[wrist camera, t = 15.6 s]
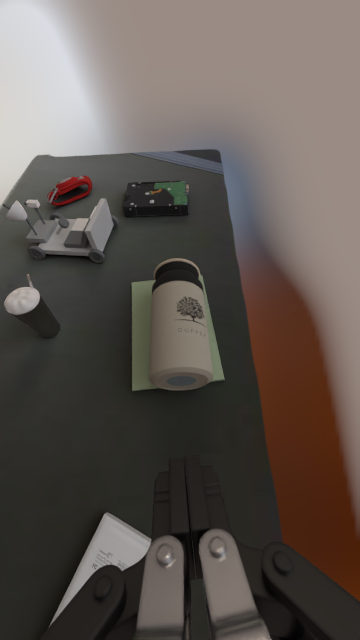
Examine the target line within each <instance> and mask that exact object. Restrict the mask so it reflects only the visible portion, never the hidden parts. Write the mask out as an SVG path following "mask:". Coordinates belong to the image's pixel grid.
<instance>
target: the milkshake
mask: <svg viewBox="0 0 360 640" xmlns="http://www.w3.org/2000/svg"><path fill="white" fill-rule="evenodd" d="M27 278H28V281H29V284H30V287H21V288H18V289H16V290H14V291H13V292H11V293H10V294H9V295H8V297H7V298H6V300H5V302H4V305H5V308H6V310H7V311H8V312H9V313H11V314H12V315H13V316H15V317H16V318H18V319H19V320H20V321H22V322H24V323H25V324H27V325H28V326H29V327H31V328H32V329H33V330H34V331H36V332H37V333H38V334H40V335H41V336H42V337H44V338H52V337H53V336H55V335H57V333H58V332H59V330H60V324H59V323H58V321H57V320H56V318H55V317H54V315H53V314H52V312H51V311H50V310H49V308H48V307H47V305H46V304H45V302H44V300H43V299H42V297H41V296H40V294H39V292H38V291H37V290H36V289H34V288H33V285H32V282H31V278H30V275H28V274H27Z"/></svg>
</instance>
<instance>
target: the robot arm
mask: <svg viewBox="0 0 360 640" xmlns="http://www.w3.org/2000/svg"><path fill="white" fill-rule="evenodd" d="M185 468H186V476H185ZM186 479H187V484H186ZM187 489H188V494H187ZM188 500H189V504H188ZM189 510H190V515H189ZM190 521H191V526H190ZM191 532H192V537H191ZM192 540H193V548H194V557H195V565H196V574H197V579H201V578H202V582H203V591H204V599H205V608H206V614H207V620H208V626H209V631H210V637H211V640H271V639H272V640H360V601H358V600H357V599H356V598H354V597H353V596H352V595H351V594H349V593H348V592H347V591H346V590H344V589H343V588H342V587H341V586H339V585H338V584H337V583H336V582H334V581H333V580H332V579H330V578H329V577H328V576H327V575H326V574H324V573H323V572H322V571H320V570H319V569H318V568H317V567H315V566H314V565H313V564H312V563H310V562H309V561H308V560H307V559H305V558H304V557H303V556H302V555H300V554H299V553H298V552H296V551H295V550H294V549H293V548H291V547H290V546H288V545H286V544H284V543H281V542H272V543H270V544H268V545H267V546H266V547H265V548H264V549H263V550H259V549H255V548H251V547H248V546H246V545H244V544H242V543H241V542H239V541H238V540H237V539H236V538H235V536H234V535H233V533H232V531H231V529H230V526H229V522H228V517H227V513H226V509H225V505H224V501H223V497H222V493H221V489H220V485H219V481H218V476H217V473H216V472H215V471H214V469H213V468H212V467H211V466H205V467H200V461H199V455H197V456H189V457H185V467H184V459H183V457H182V458H175V459H169V471H167V472H160V473H159V475H158V477H157V479H156V481H155V486H154V504H153V522H152V538H151V544H150V547H149V549H148V551H147V553H146V554H145V555H144V557H143V558H142V559H141V560H140V561H138V562H137V563H135V564H134V565H132V566H130V567H128V568H127V569H125V570H123V571H122V570H121V569H120V568H119V567H117V566H115V565H105V566H103V567H101V568H99V569H98V570H96V571H95V572H94V573H93V574H92V575H91V576H90V578H89V579H88V580H87V581H86V582H85V584H84V585H83V586H82V587H81V589H80V590H79V591H78V592H77V594H76V595H75V596H74V597H73V598H72V600H71V601H70V602H69V603H68V605H67V606H66V607H65V608H64V609H63V611H62V612H61V613H60V614H59V616H58V617H57V618H56V619H55V621H54V622H53V623H52V624H51V625H50V627H49V628H48V629H47V630H46V632H45V633H44V634H43V635H42V636H41V638H40V639H39V640H192V637H191V586H190V580H195V569H194V558H193V548H192Z"/></svg>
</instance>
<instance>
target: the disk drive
mask: <svg viewBox="0 0 360 640" xmlns="http://www.w3.org/2000/svg"><path fill="white" fill-rule="evenodd" d="M123 209H124V213H125V216H157V215H185V214H189V188H188V182H185V181H164V182H134V183H128V186H127V191H126V195H125V201H124V204H123Z"/></svg>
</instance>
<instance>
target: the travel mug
mask: <svg viewBox="0 0 360 640" xmlns="http://www.w3.org/2000/svg"><path fill="white" fill-rule="evenodd" d="M199 277H200V272H199V269H198V267H197V266H196V265H195V264H194V263H192V262H191V261H189V260H186V259H180V258H175V259H169V260H166V261H164V262H162V263H161V264H159V265H158V266H157V268H156V269H155V272H154V279H155V282H154V284H153V286H152V304H151V338H150V371H149V381H150V382H151V383H152V384H153V385H155V386H157V387H159V388H162V389H166V390H191V389H196V388H199V387H202V386H204V385H206V384H208V383H209V382H210V381H211V380H212V379H213V370H212V361H211V352H210V344H209V335H208V327H207V318H206V310H205V301H204V293H203V285H202V283H201V282H200V280H199Z"/></svg>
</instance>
